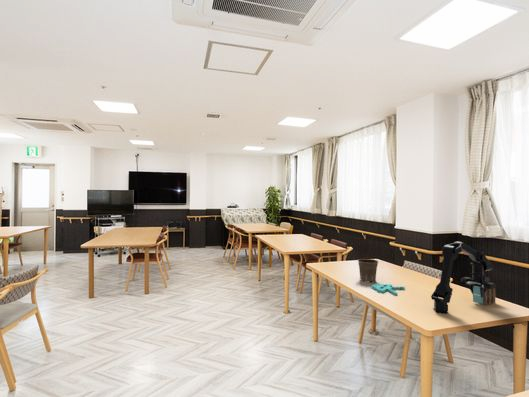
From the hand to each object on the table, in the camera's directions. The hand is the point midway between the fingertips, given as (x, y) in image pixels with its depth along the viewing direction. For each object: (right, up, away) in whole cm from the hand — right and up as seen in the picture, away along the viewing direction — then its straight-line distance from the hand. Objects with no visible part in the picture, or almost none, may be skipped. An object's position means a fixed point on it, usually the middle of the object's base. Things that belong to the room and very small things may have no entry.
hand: (477, 296), depth 200 cm
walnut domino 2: (+8, -5, +3) cm, 10 cm away
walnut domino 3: (+11, -5, +4) cm, 13 cm away
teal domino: (0, -4, 0) cm, 4 cm away
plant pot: (-51, -5, +59) cm, 78 cm away
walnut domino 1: (+4, -5, +1) cm, 7 cm away
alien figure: (-46, -6, +33) cm, 56 cm away
